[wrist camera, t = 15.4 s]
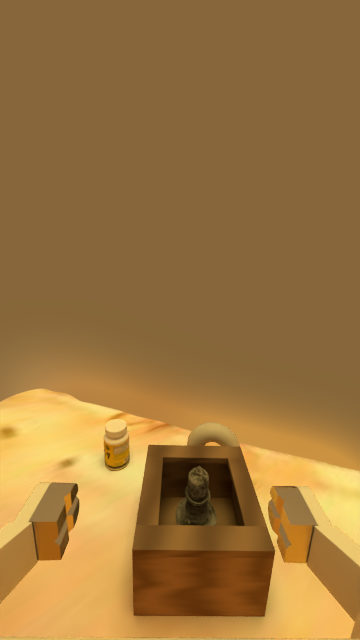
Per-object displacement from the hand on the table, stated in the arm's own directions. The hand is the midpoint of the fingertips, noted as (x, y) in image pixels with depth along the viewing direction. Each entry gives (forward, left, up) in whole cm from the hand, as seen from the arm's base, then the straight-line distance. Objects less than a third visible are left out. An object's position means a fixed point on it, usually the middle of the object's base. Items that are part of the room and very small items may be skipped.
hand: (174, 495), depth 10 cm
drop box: (+3, +19, -30) cm, 35 cm away
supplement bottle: (-11, +33, -30) cm, 46 cm away
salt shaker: (+3, +19, -29) cm, 35 cm away
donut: (+8, +32, -30) cm, 44 cm away
